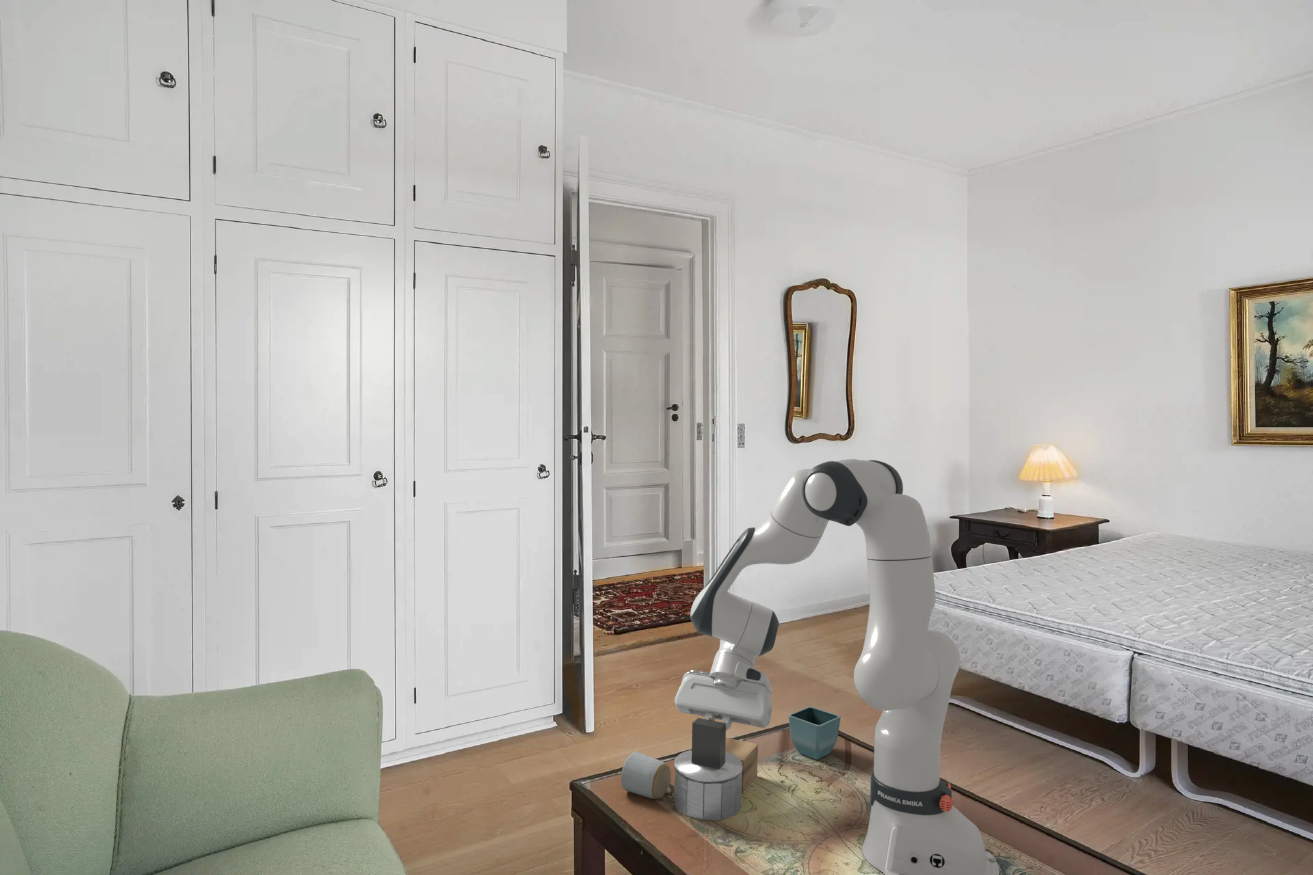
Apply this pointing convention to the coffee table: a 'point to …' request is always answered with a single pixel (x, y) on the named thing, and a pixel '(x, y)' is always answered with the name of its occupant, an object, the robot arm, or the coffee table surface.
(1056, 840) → the coffee table surface
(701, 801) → the pot
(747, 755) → the tan block
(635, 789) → the ceramic mug
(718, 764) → the lid
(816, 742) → the flower pot
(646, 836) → the coffee table surface
